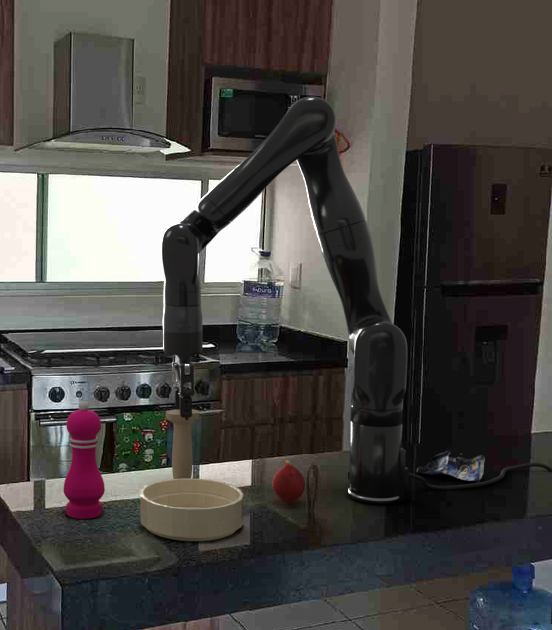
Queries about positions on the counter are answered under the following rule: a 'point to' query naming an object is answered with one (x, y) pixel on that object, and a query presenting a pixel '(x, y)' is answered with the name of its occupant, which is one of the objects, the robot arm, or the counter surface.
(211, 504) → the bowl
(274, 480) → the onion
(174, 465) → the handle
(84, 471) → the pepper mill
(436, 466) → the snack package
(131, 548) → the counter surface
